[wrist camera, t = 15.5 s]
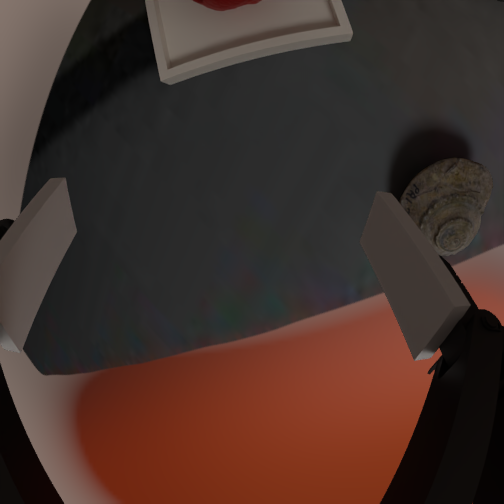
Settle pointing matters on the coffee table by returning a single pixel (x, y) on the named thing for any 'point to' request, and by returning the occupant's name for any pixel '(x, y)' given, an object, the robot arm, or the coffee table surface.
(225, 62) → the tray
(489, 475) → the robot arm
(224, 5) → the pomegranate
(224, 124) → the coffee table surface
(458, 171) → the fossilized seashell
